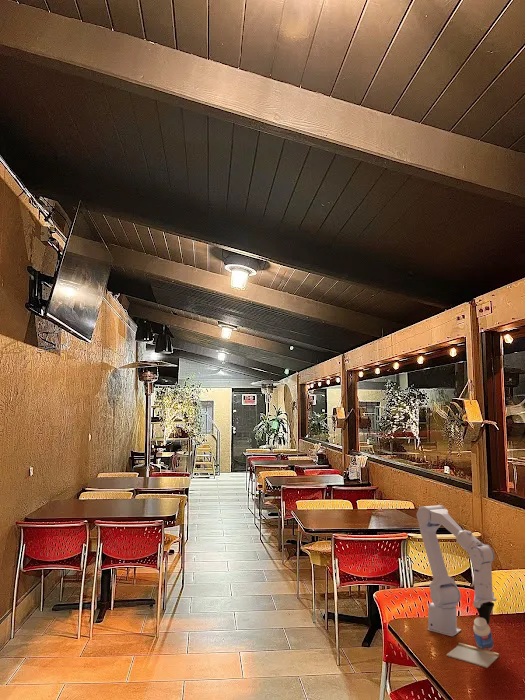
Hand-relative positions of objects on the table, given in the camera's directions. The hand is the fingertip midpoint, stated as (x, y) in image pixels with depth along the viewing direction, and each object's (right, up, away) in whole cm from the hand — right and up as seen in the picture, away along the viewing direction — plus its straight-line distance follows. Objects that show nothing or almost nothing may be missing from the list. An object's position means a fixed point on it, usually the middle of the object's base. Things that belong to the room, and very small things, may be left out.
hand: (485, 625), depth 188 cm
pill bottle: (0, -7, 0) cm, 7 cm away
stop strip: (-3, -8, -2) cm, 9 cm away
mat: (-7, -7, -7) cm, 12 cm away
